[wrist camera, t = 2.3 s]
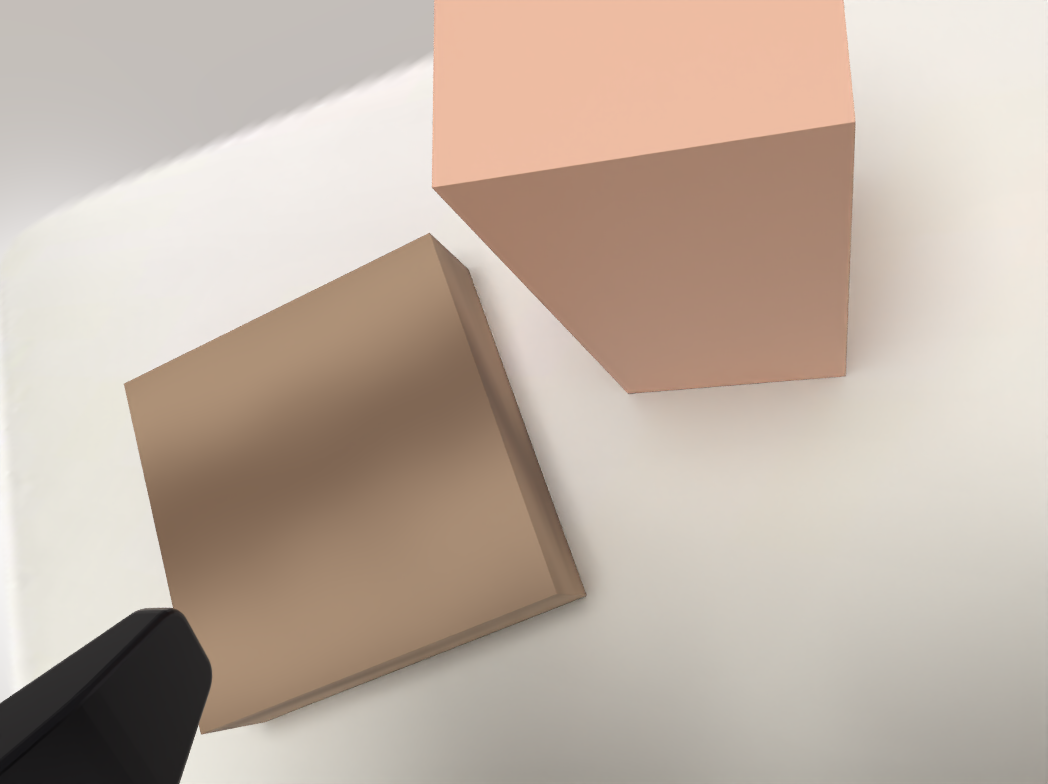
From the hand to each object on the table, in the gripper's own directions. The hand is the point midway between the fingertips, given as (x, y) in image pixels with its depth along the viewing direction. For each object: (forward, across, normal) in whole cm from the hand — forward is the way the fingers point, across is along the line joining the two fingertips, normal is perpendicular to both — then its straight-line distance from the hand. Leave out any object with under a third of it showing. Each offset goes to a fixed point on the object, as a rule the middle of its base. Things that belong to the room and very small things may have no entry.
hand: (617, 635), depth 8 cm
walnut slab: (+12, +9, +7) cm, 17 cm away
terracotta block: (+15, 0, +4) cm, 16 cm away
